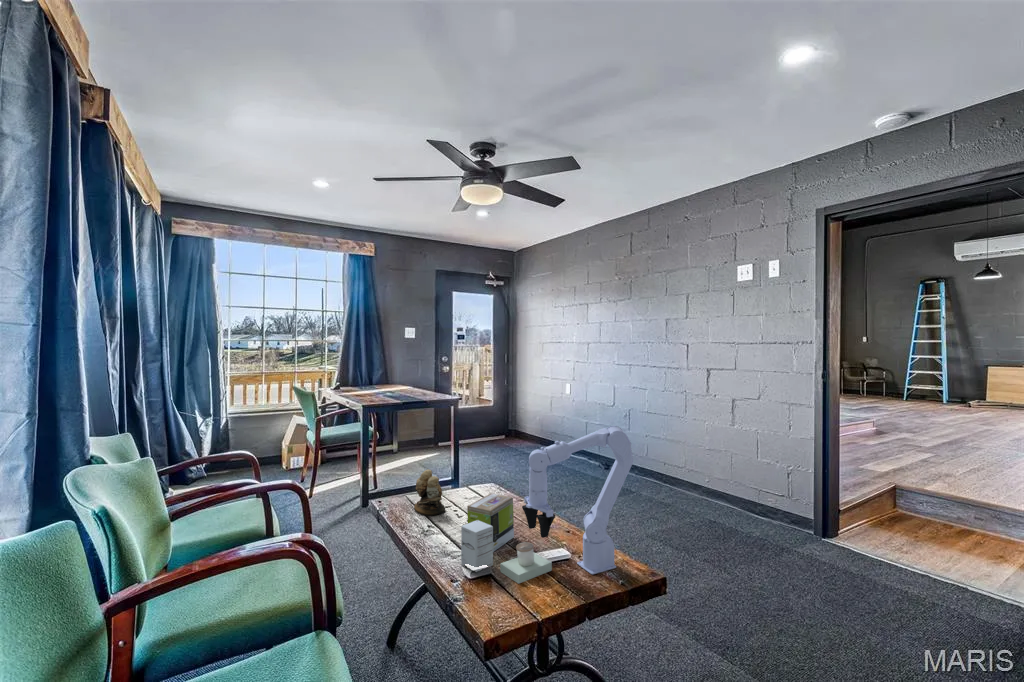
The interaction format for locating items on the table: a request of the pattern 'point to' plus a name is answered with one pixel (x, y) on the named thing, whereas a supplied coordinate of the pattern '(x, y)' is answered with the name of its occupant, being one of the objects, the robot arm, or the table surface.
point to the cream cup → (525, 554)
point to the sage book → (525, 569)
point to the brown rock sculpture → (429, 495)
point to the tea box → (494, 516)
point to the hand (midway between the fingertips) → (538, 532)
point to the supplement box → (477, 544)
